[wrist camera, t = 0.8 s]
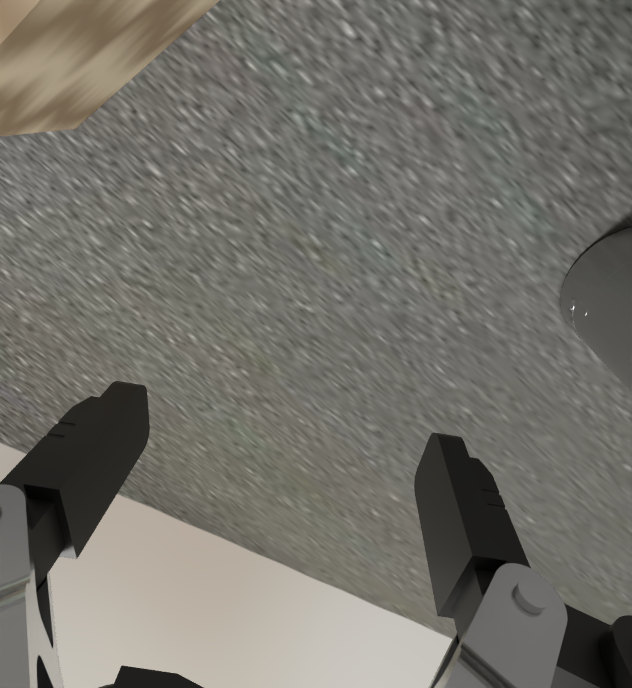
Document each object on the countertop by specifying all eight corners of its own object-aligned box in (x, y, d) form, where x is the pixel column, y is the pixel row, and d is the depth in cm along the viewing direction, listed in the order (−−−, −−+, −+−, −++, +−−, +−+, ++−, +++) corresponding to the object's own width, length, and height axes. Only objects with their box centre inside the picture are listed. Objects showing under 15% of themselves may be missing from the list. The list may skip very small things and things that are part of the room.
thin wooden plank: (277, -99, 21) (200, -288, 11) (292, -65, 22) (233, -214, 11) (58, 107, 27) (-125, 110, 17) (75, 128, 28) (-91, 145, 17)
